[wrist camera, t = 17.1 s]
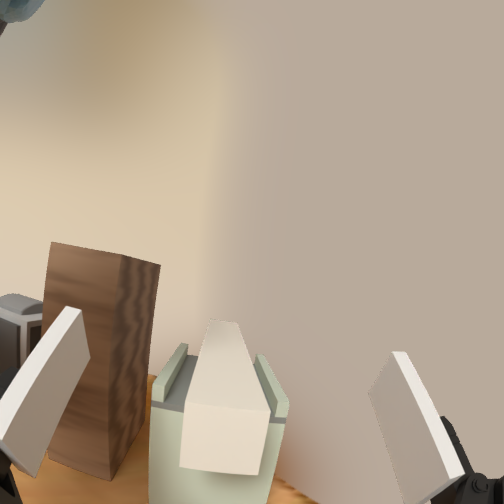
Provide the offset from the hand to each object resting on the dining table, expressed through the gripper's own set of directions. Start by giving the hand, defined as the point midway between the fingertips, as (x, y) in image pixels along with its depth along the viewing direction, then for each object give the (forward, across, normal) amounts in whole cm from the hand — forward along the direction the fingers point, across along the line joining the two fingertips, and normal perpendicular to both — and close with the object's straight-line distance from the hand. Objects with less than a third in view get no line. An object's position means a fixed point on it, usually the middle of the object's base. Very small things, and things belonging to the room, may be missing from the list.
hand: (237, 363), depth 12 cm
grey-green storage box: (0, 0, -28) cm, 28 cm away
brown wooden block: (+12, -16, -35) cm, 40 cm away
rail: (+9, 0, -12) cm, 15 cm away
